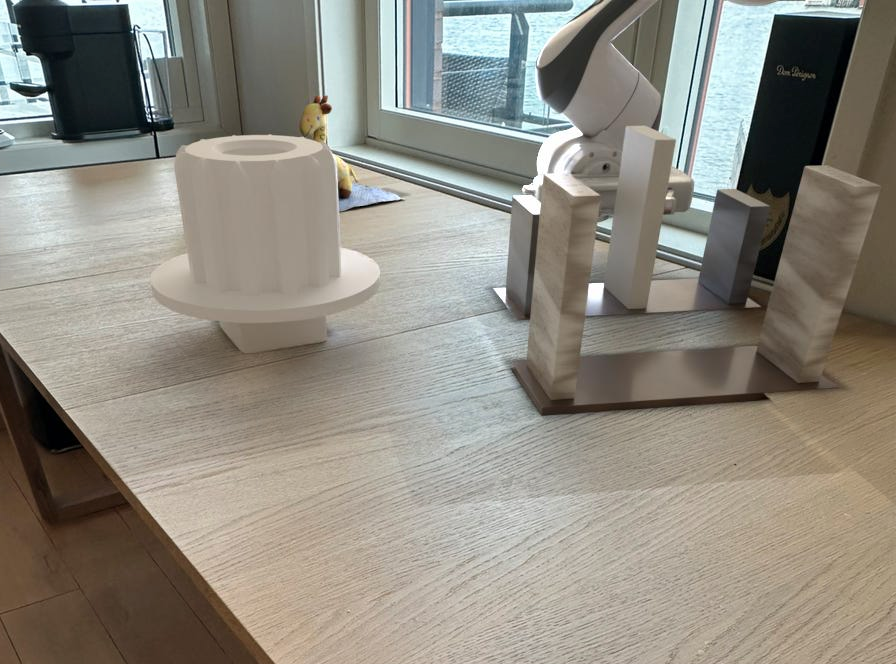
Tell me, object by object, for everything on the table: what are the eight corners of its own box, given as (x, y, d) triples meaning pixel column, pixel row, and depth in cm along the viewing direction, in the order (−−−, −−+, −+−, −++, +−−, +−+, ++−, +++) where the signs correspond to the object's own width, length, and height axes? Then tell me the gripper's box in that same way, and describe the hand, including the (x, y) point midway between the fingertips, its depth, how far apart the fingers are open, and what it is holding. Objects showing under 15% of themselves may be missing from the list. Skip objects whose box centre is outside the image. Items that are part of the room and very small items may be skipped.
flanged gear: (192, 392, 86) (157, 183, 74) (141, 315, 103) (106, 135, 91) (417, 354, 94) (419, 160, 82) (334, 288, 112) (326, 120, 100)
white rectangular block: (620, 285, 111) (645, 125, 99) (646, 308, 104) (676, 139, 93) (603, 286, 111) (625, 125, 99) (628, 309, 104) (655, 139, 92)
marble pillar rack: (778, 351, 96) (831, 161, 84) (836, 394, 87) (905, 189, 75) (509, 367, 91) (525, 170, 80) (541, 415, 82) (564, 201, 70)
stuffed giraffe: (268, 196, 150) (263, 89, 140) (350, 186, 160) (351, 85, 149) (321, 218, 141) (319, 105, 131) (405, 206, 151) (410, 100, 140)
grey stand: (717, 283, 115) (739, 185, 107) (760, 313, 105) (787, 208, 98) (492, 294, 110) (498, 193, 103) (516, 326, 101) (525, 218, 94)
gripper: (520, 159, 110) (552, 182, 99) (671, 154, 113) (717, 176, 102) (516, 213, 114) (546, 241, 103) (662, 207, 117) (705, 233, 106)
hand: (632, 209), depth 103 cm, fingers open, 8 cm apart
